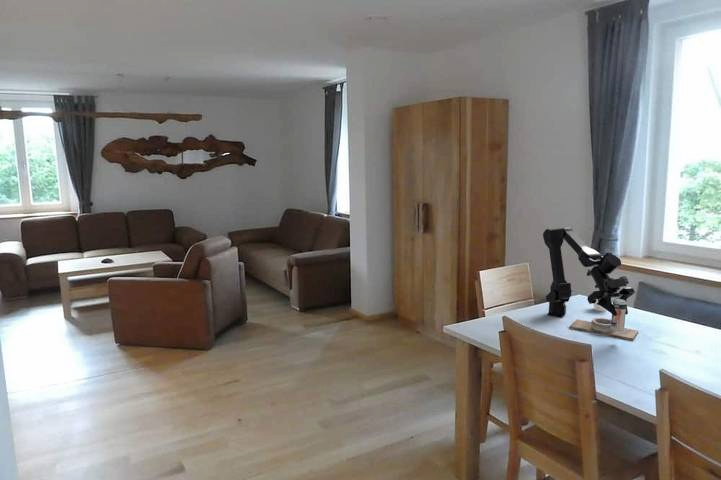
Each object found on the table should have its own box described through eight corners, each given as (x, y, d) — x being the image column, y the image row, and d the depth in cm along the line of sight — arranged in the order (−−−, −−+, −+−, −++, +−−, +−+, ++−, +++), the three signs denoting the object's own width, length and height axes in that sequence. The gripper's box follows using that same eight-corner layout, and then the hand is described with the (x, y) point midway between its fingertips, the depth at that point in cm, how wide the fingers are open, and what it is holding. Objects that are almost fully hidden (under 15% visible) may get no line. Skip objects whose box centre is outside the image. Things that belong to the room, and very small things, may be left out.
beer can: (607, 328, 201) (610, 298, 199) (619, 327, 201) (622, 298, 199) (614, 332, 196) (617, 302, 194) (626, 331, 197) (629, 301, 194)
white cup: (605, 307, 243) (606, 293, 242) (610, 311, 236) (611, 297, 235) (590, 307, 243) (591, 292, 242) (595, 311, 237) (596, 296, 236)
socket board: (569, 328, 214) (569, 319, 214) (576, 321, 223) (577, 312, 222) (633, 340, 200) (633, 331, 199) (638, 332, 209) (639, 323, 208)
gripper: (595, 271, 195) (614, 307, 187) (633, 267, 201) (654, 302, 193) (578, 285, 204) (597, 320, 196) (616, 281, 210) (635, 315, 202)
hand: (621, 314), depth 196 cm, fingers closed on beer can, 5 cm apart
